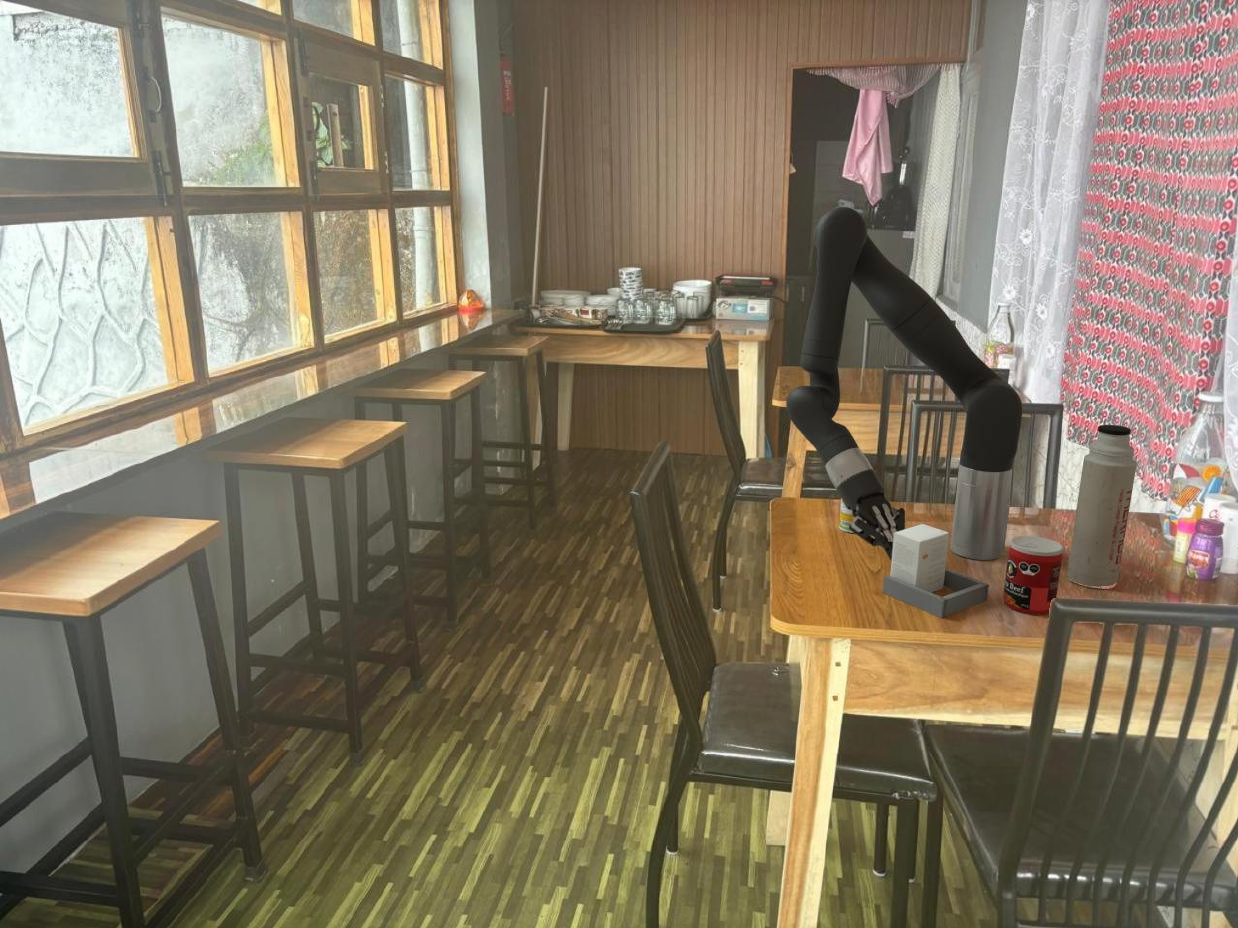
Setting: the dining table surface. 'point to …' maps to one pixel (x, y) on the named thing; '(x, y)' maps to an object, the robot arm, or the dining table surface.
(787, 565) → the dining table surface
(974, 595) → the bay
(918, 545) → the small box
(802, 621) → the dining table surface
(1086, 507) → the thermos bottle
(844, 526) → the supplement bottle
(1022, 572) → the canned food
